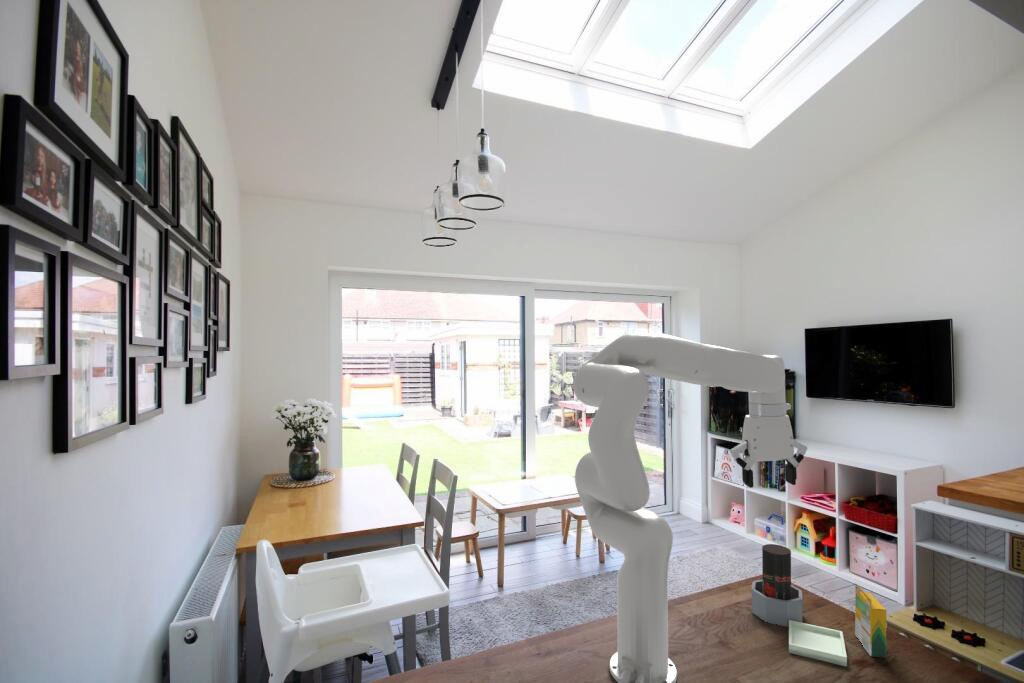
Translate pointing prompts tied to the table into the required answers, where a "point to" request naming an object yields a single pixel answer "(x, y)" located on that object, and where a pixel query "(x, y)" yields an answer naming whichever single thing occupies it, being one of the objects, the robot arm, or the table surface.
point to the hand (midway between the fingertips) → (769, 484)
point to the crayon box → (870, 623)
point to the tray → (817, 643)
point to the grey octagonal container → (777, 606)
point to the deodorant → (776, 571)
